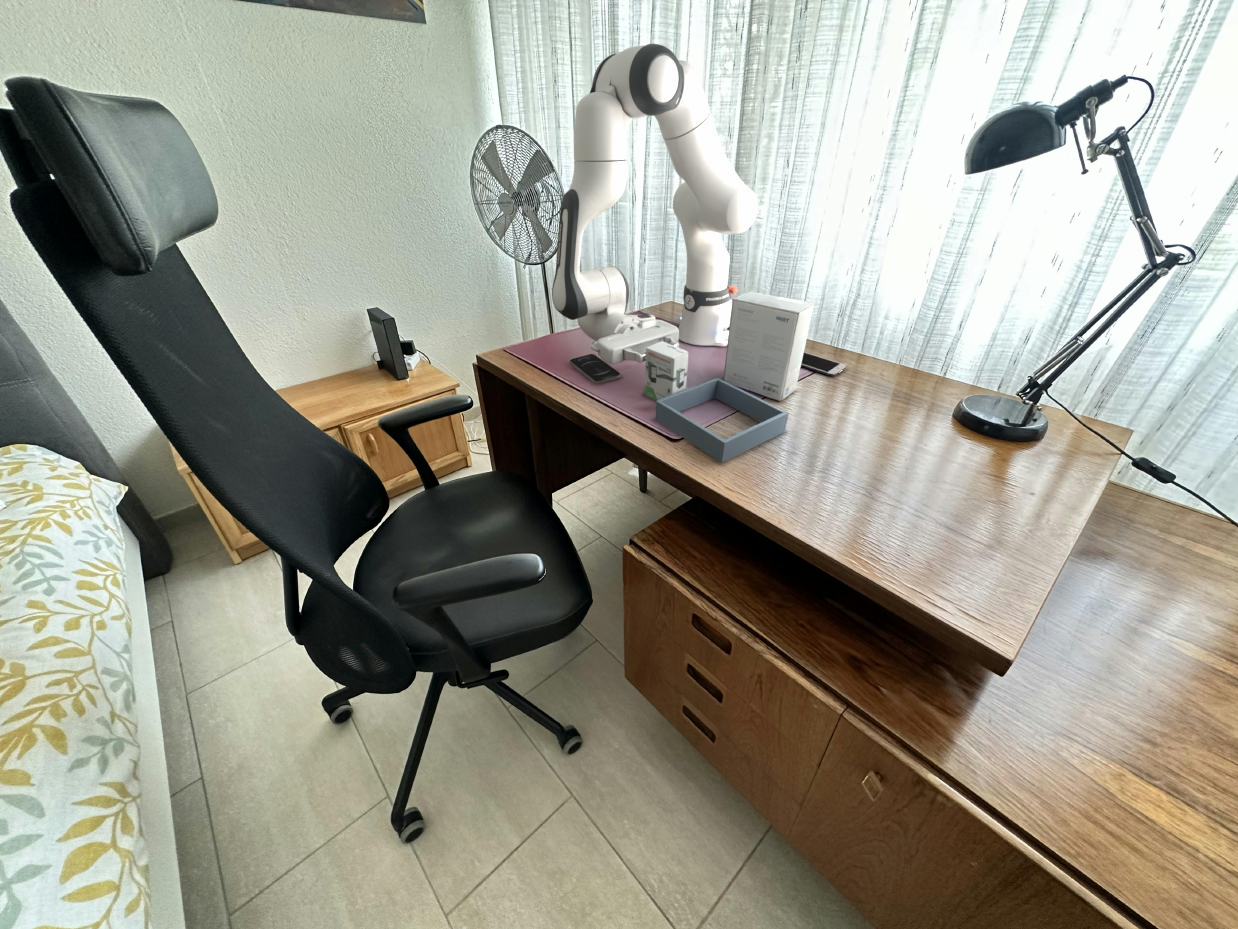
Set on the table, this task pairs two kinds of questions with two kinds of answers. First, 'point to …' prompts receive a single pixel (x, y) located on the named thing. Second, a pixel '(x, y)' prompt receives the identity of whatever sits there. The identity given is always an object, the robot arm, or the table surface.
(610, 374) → the smartphone
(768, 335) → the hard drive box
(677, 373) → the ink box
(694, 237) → the robot arm
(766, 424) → the tub
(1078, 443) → the table surface
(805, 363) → the smartphone
